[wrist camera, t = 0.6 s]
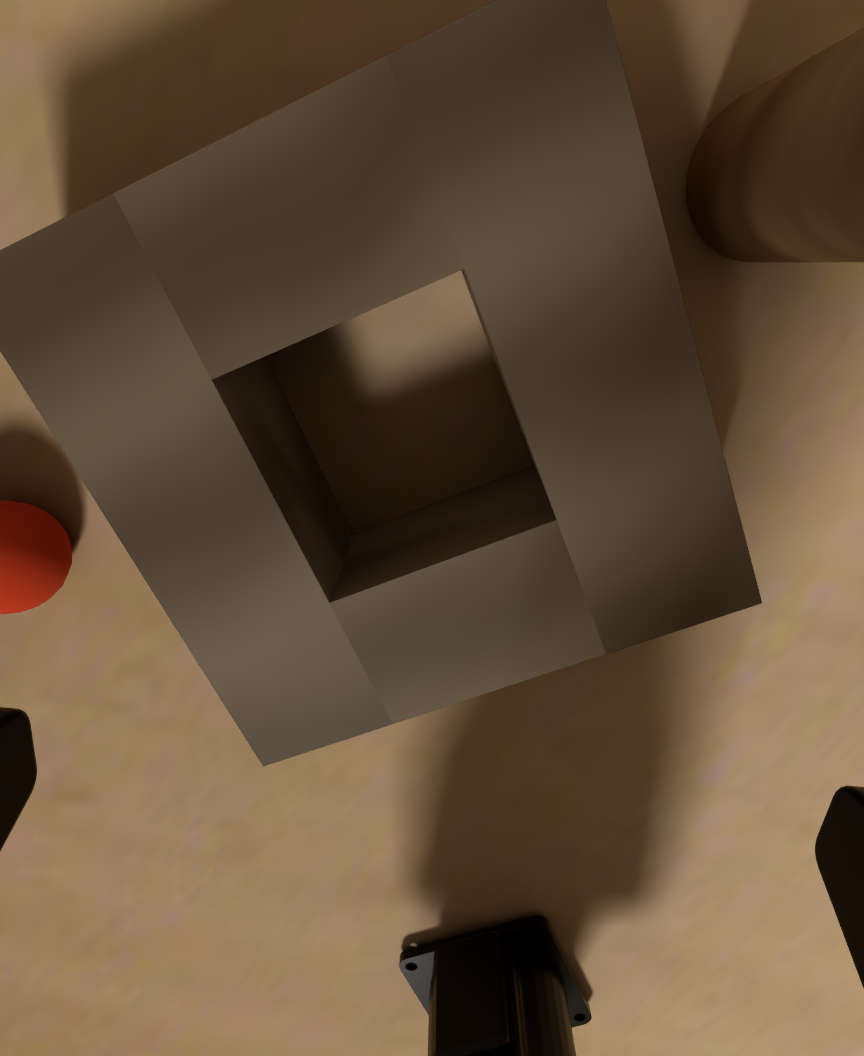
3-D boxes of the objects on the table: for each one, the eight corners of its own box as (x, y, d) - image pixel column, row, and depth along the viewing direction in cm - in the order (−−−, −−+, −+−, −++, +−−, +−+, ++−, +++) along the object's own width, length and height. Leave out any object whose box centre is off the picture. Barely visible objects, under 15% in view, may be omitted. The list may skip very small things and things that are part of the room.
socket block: (698, 533, 21) (762, 603, 16) (297, 673, 23) (263, 766, 19) (554, 33, 16) (592, -50, 12) (66, 271, 18) (-48, 274, 14)
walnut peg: (859, 224, 17) (1107, 201, 11) (706, 286, 18) (854, 300, 11) (831, 55, 16) (1097, -88, 9) (668, 129, 17) (811, 43, 10)
